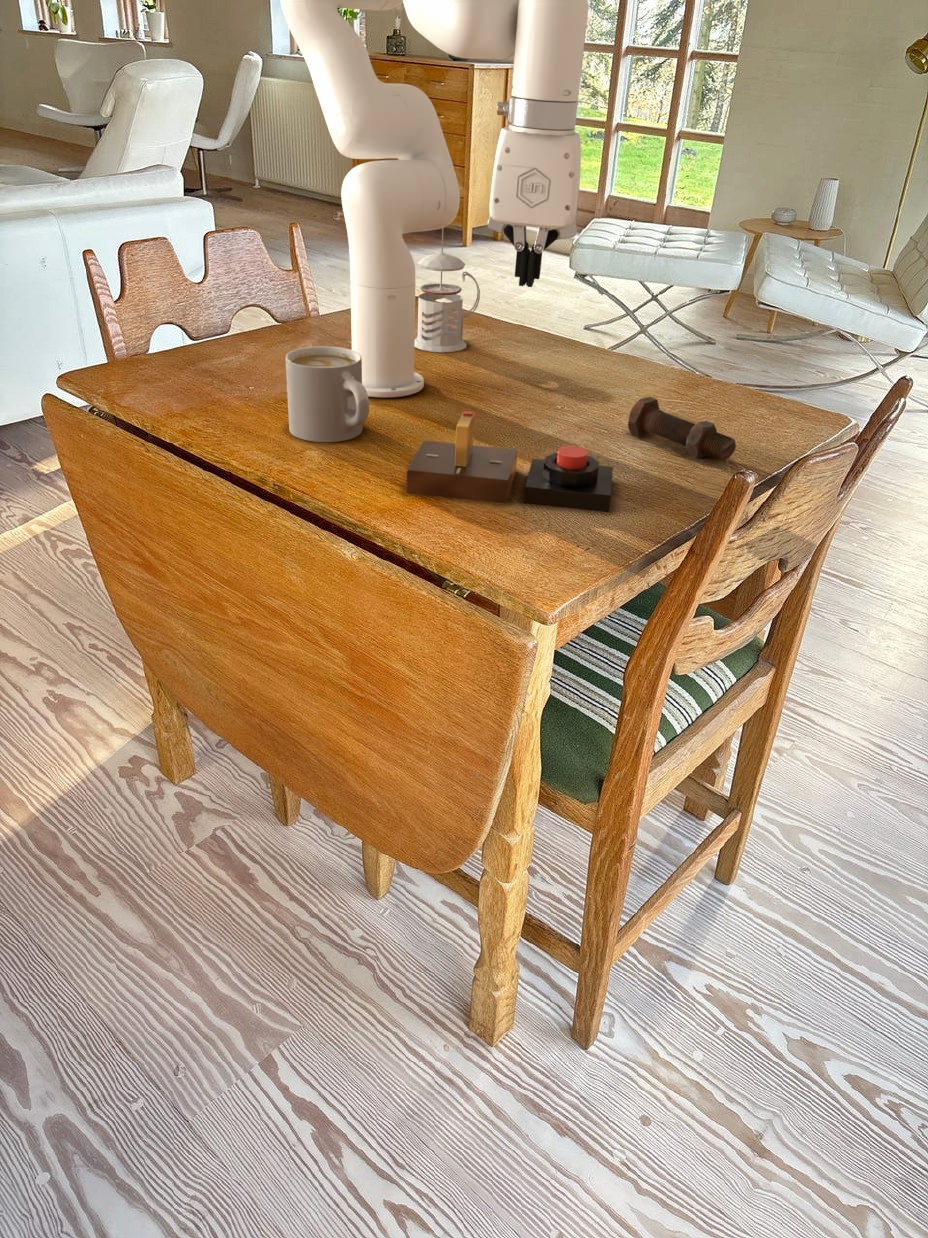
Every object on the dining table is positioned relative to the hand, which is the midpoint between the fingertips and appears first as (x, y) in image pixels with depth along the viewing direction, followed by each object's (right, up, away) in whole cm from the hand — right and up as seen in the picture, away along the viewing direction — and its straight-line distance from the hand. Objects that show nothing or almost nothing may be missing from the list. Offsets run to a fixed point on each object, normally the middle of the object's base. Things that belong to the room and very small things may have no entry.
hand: (526, 283), depth 118 cm
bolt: (+22, -18, +13) cm, 31 cm away
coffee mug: (-26, -16, +12) cm, 33 cm away
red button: (+5, -23, -4) cm, 24 cm away
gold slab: (-8, -22, -2) cm, 23 cm away
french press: (-11, +7, +52) cm, 54 cm away
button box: (+5, -26, -2) cm, 27 cm away
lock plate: (-8, -25, 0) cm, 26 cm away
